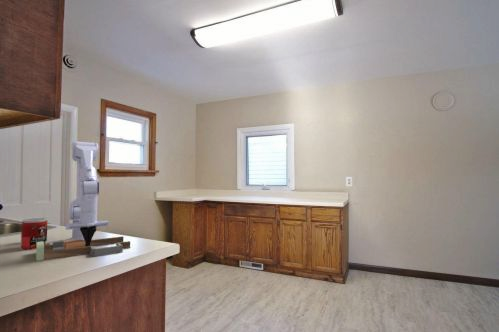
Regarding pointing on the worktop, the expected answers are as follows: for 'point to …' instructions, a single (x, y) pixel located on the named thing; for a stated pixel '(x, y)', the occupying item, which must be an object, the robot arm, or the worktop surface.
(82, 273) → the worktop surface
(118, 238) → the track
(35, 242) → the canned food
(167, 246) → the worktop surface
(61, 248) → the traps
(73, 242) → the block
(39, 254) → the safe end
